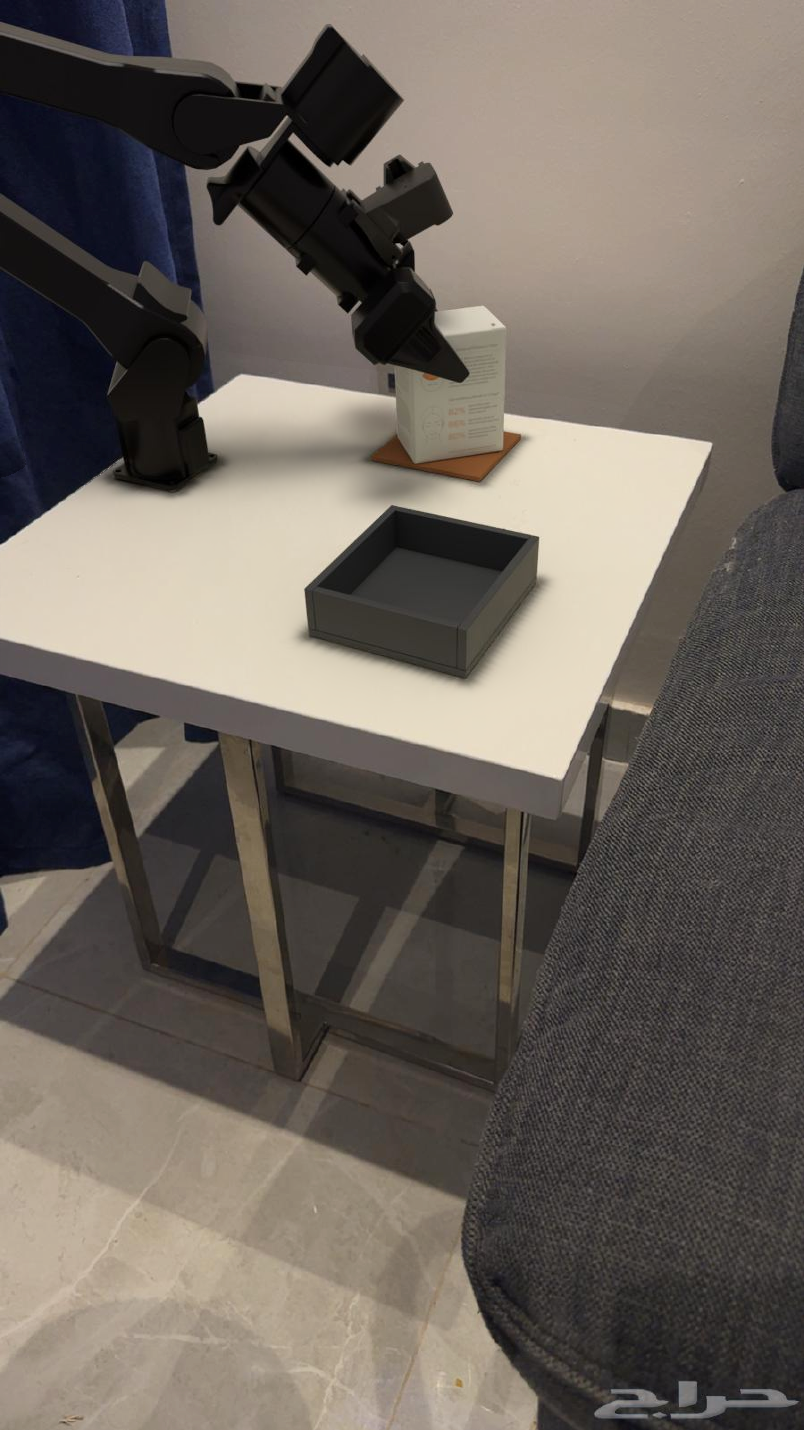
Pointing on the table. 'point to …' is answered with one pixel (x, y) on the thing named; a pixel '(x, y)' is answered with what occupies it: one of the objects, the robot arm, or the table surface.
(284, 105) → the robot arm
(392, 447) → the mat
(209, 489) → the table surface
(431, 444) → the small box
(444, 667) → the bin
